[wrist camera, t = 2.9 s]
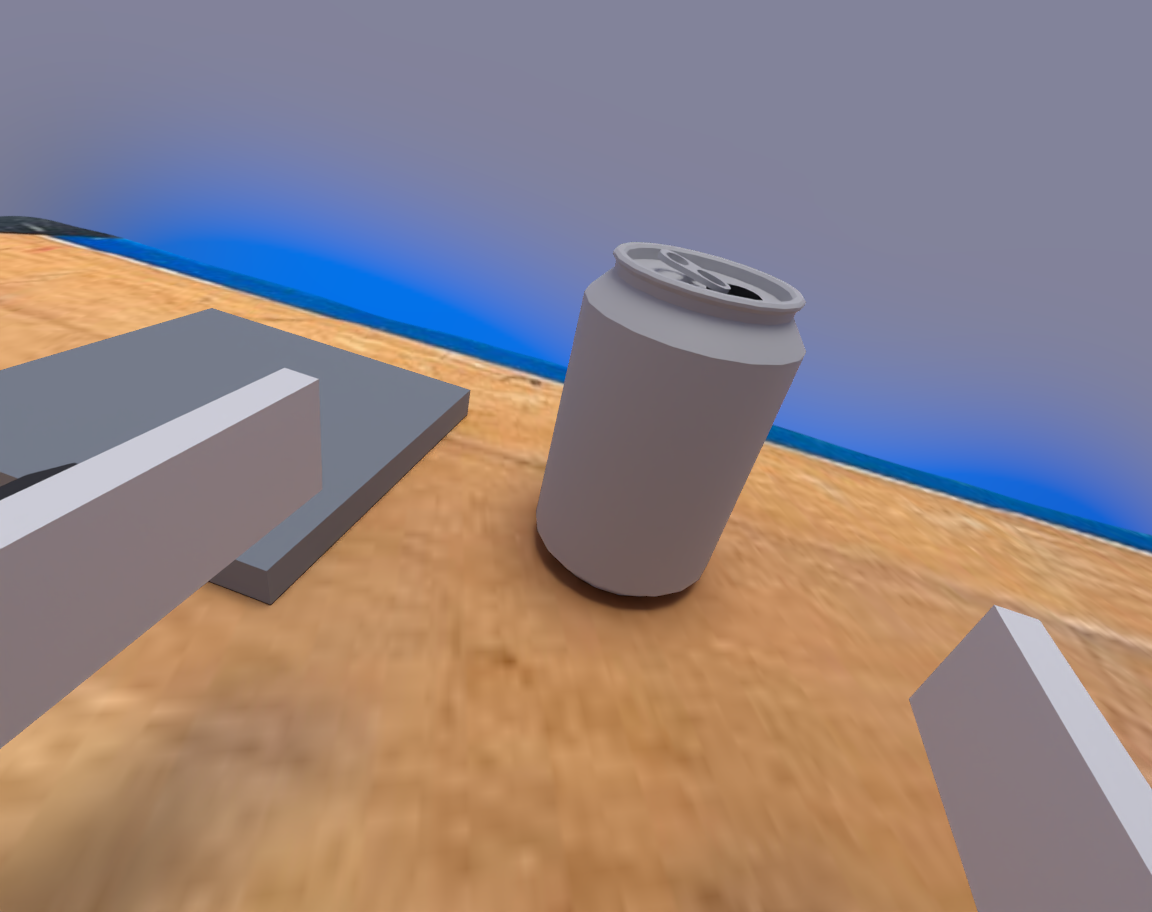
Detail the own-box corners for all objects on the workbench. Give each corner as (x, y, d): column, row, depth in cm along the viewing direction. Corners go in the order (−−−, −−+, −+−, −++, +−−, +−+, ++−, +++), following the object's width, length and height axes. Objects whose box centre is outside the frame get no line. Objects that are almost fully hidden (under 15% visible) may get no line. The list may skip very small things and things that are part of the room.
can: (684, 643, 20) (836, 329, 13) (500, 562, 21) (560, 244, 15) (712, 529, 26) (825, 279, 20) (569, 473, 27) (632, 222, 21)
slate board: (467, 413, 30) (470, 390, 29) (270, 604, 17) (266, 571, 17) (215, 333, 32) (211, 308, 31) (-131, 452, 19) (-152, 415, 18)
